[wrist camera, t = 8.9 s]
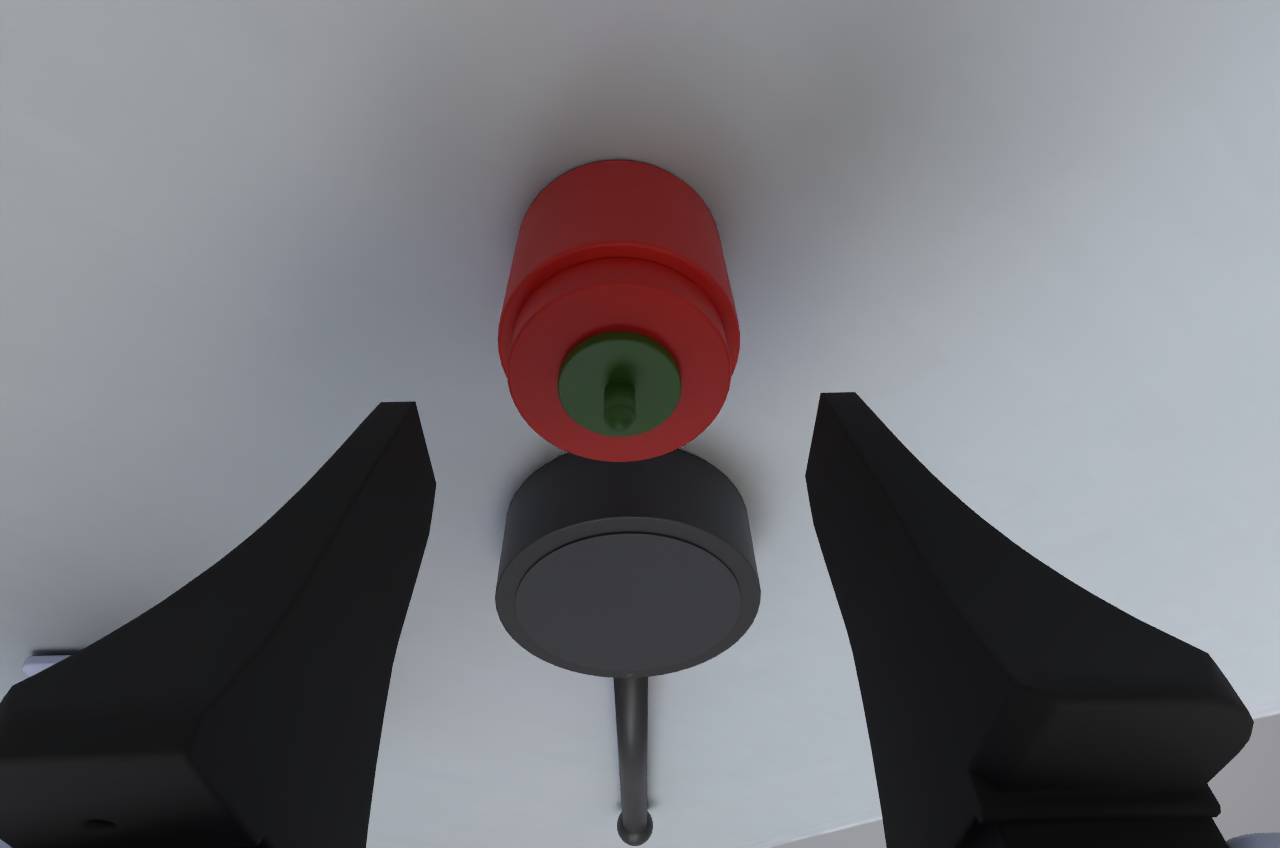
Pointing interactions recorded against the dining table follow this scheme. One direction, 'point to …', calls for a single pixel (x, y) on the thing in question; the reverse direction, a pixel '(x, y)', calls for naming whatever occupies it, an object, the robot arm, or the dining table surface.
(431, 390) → the dining table surface
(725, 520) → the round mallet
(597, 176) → the pepper
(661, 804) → the dining table surface
